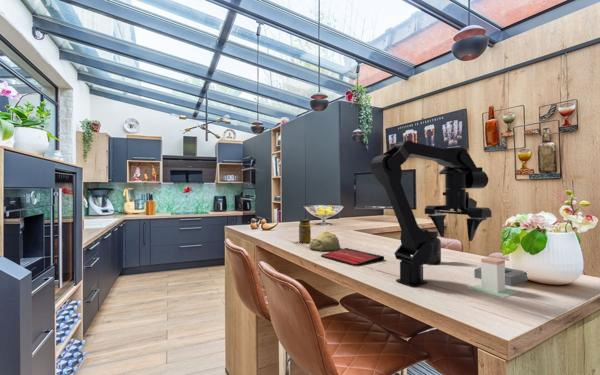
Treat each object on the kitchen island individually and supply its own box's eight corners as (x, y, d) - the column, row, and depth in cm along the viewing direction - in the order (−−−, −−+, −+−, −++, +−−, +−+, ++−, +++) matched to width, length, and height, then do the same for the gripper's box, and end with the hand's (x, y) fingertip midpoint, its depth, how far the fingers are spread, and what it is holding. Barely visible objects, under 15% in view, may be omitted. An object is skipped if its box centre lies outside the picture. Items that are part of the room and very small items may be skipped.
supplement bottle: (443, 265, 110) (442, 232, 110) (423, 264, 111) (422, 231, 111) (438, 260, 117) (438, 229, 117) (419, 260, 118) (419, 229, 118)
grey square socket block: (510, 287, 85) (510, 277, 85) (474, 279, 93) (474, 269, 93) (527, 281, 90) (527, 271, 90) (491, 274, 99) (491, 264, 99)
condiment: (314, 242, 159) (313, 219, 159) (302, 244, 153) (302, 220, 153) (304, 240, 164) (304, 218, 164) (292, 243, 158) (292, 219, 159)
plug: (497, 292, 79) (497, 261, 79) (481, 288, 83) (481, 259, 83) (505, 290, 81) (504, 259, 81) (489, 285, 85) (488, 257, 85)
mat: (503, 300, 76) (503, 297, 76) (467, 289, 84) (467, 287, 84) (520, 293, 81) (520, 290, 81) (485, 284, 88) (485, 282, 88)
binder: (346, 247, 136) (384, 255, 119) (346, 252, 136) (384, 261, 119) (318, 253, 127) (355, 263, 109) (318, 259, 127) (355, 270, 109)
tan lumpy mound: (341, 247, 147) (340, 230, 147) (339, 252, 134) (338, 234, 134) (312, 246, 149) (311, 230, 149) (307, 251, 137) (307, 233, 137)
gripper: (500, 188, 92) (501, 240, 91) (443, 188, 107) (444, 233, 107) (480, 188, 86) (481, 244, 86) (423, 189, 102) (423, 235, 102)
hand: (455, 238), depth 95 cm, fingers open, 9 cm apart
